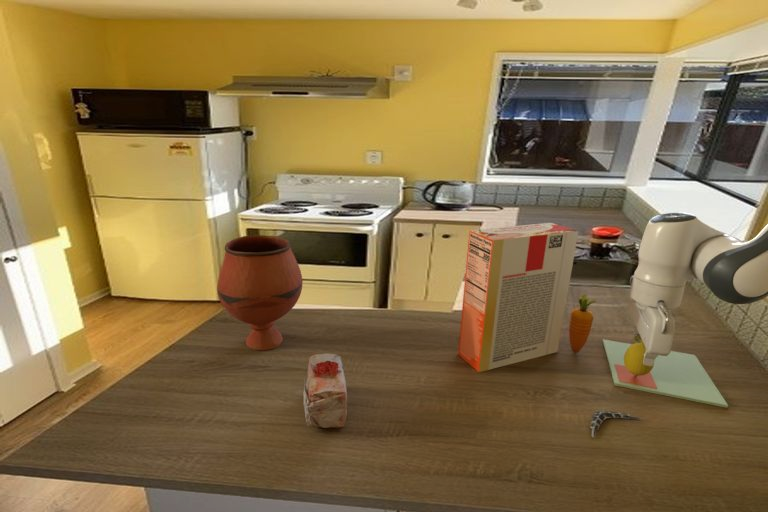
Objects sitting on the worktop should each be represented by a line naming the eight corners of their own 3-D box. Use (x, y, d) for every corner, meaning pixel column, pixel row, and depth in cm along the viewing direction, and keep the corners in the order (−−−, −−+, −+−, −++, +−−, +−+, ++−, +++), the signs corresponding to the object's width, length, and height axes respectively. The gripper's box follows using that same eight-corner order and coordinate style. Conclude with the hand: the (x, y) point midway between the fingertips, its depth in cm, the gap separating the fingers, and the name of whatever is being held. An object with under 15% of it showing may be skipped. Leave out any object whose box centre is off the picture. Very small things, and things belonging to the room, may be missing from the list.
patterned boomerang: (620, 401, 83) (644, 418, 79) (620, 404, 83) (643, 421, 79) (571, 416, 78) (594, 436, 74) (571, 420, 78) (593, 439, 74)
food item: (351, 432, 74) (351, 383, 71) (304, 437, 72) (302, 388, 69) (342, 385, 87) (342, 342, 84) (303, 389, 85) (301, 346, 82)
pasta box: (533, 336, 109) (550, 222, 99) (557, 351, 102) (578, 230, 92) (458, 354, 100) (469, 230, 90) (478, 372, 93) (493, 240, 83)
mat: (694, 357, 101) (695, 354, 101) (727, 408, 83) (728, 405, 83) (602, 341, 107) (602, 338, 107) (614, 385, 89) (615, 382, 89)
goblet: (256, 373, 90) (248, 262, 82) (206, 344, 101) (194, 243, 93) (321, 339, 104) (319, 242, 97) (271, 316, 115) (265, 227, 108)
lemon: (622, 365, 95) (629, 334, 93) (650, 374, 92) (659, 342, 90) (618, 377, 91) (626, 344, 89) (648, 386, 88) (657, 352, 85)
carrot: (568, 345, 105) (579, 289, 100) (589, 353, 101) (601, 295, 97) (560, 352, 101) (570, 295, 97) (581, 361, 98) (592, 301, 93)
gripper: (690, 316, 75) (672, 382, 80) (661, 277, 94) (648, 333, 98) (650, 310, 77) (635, 376, 82) (629, 274, 96) (618, 328, 100)
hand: (642, 352), depth 90 cm, fingers open, 8 cm apart
